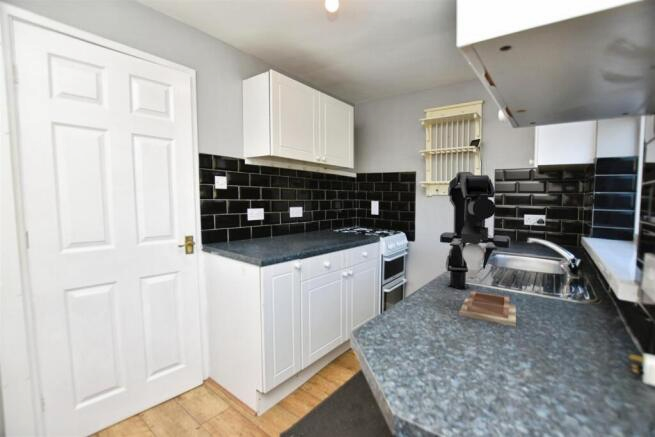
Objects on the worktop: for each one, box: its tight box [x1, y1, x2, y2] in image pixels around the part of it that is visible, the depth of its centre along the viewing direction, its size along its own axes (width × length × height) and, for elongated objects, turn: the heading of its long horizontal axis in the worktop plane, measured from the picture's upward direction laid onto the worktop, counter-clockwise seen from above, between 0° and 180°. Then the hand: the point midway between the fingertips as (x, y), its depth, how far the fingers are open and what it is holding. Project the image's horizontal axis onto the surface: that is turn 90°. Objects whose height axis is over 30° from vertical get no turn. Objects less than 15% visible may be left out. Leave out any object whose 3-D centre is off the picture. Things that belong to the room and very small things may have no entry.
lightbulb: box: [462, 243, 486, 280], centre depth 91 cm, size 6×6×11 cm
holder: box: [459, 290, 517, 328], centre depth 89 cm, size 14×14×4 cm
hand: (472, 267), depth 91 cm, fingers closed on lightbulb, 6 cm apart
